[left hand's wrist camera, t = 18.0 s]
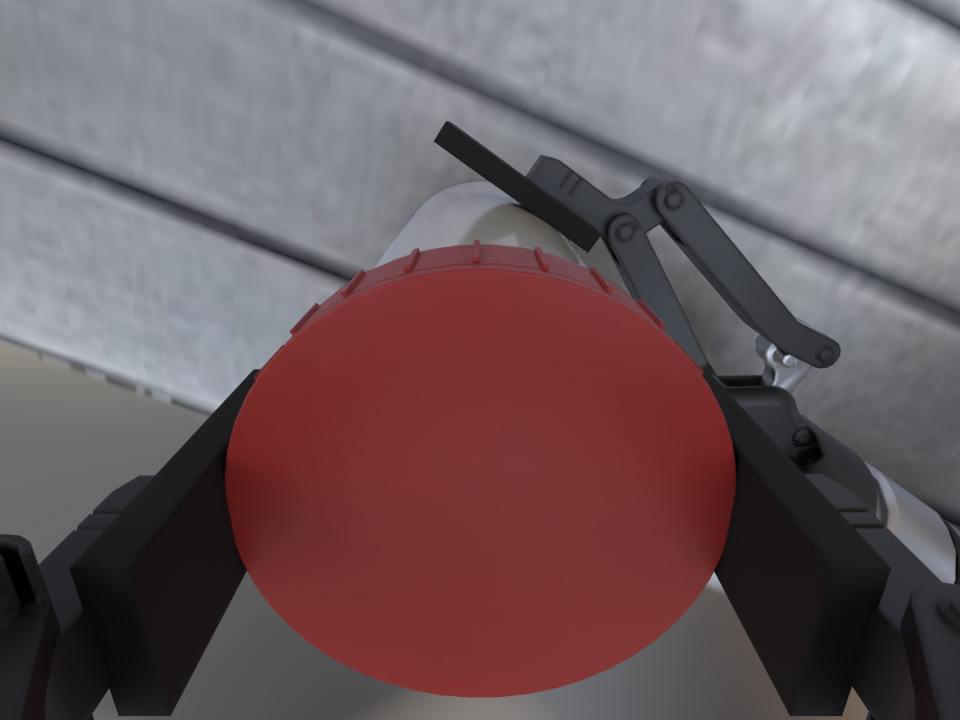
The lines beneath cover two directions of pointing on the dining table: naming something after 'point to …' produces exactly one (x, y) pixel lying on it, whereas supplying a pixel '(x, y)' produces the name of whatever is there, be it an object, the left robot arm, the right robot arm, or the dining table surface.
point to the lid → (480, 474)
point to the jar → (476, 224)
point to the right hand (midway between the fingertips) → (376, 238)
